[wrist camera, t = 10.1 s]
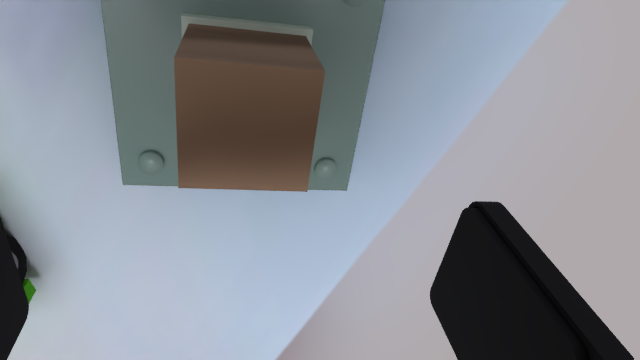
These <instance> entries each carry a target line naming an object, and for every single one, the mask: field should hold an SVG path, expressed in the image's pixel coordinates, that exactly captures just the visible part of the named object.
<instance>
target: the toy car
mask: <svg viewBox="0 0 640 360" xmlns="http://www.w3.org/2000/svg"><path fill="white" fill-rule="evenodd" d="M7 240H8V243H9V246H10V248H11V251H12V254H13V257H14V260H15V263H16V266H17V269H18V272H19V275H20V278H21V281H22V284H23V287H24V290H25V293H26V296H27V299H28V304H29V302H30V300H31V299H32V297H33V295H34V293H35V291H36V289H35V288H34V286H33V285H32V283H31V282H30V280H29V279H24V278H25V275H26V272H27V266H26V256H25V254H24V251H23V249H22V248H21V246H20V245H19V243H18V242H17V241H16V240H15V239H14V238H10V237H7Z"/></svg>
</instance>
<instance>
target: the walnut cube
mask: <svg viewBox="0 0 640 360" xmlns="http://www.w3.org/2000/svg"><path fill="white" fill-rule="evenodd" d="M174 72H175V101H176V130H177V159H178V188H203V189H237V190H271V191H305V192H307V190H308V183H309V177H310V170H311V163H312V157H313V150H314V143H315V137H316V130H317V123H318V117H319V110H320V103H321V96H322V90H323V83H324V76H325V70H324V68H323V66H322V64H321V62H320V61H319V59H318V57H317V55H316V53H315V52H314V50H313V48H312V46H311V44H310V42H309V41H308V39H307V37H306V36H302V35H292V34H283V33H274V32H265V31H255V30H246V29H237V28H228V27H219V26H209V25H200V24H191V23H189V24H188V26H187V29H186V31H185V33H184V35H183V38H182V40H181V42H180V45H179V47H178V49H177V52H176V54H175V56H174Z"/></svg>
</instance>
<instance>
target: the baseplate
mask: <svg viewBox="0 0 640 360" xmlns="http://www.w3.org/2000/svg"><path fill="white" fill-rule="evenodd" d="M384 2H385V0H101V5H102V14H103V22H104V31H105V39H106V47H107V56H108V64H109V73H110V81H111V89H112V98H113V106H114V115H115V123H116V131H117V140H118V148H119V156H120V165H121V173H122V182H123V185H152V186H178V159H177V130H176V101H175V72H174V56H175V54H176V52H177V49H178V47H179V45H180V42H181V40H182V38H183V35H184V33H185V31H186V29H187V26H188V24H189V23H191V24H200V25H209V26H219V27H228V28H237V29H246V30H255V31H265V32H274V33H283V34H292V35H302V36H306V37H307V39H308V41H309V42H310V44H311V46H312V48H313V50H314V52H315V53H316V55H317V57H318V59H319V61H320V62H321V64H322V66H323V68H324V70H325V76H324V83H323V90H322V96H321V103H320V110H319V117H318V123H317V130H316V137H315V143H314V150H313V157H312V163H311V170H310V177H309V183H308V190H343V191H347V187H348V182H349V177H350V172H351V167H352V162H353V157H354V152H355V147H356V142H357V137H358V132H359V127H360V122H361V117H362V112H363V107H364V102H365V97H366V92H367V87H368V82H369V77H370V72H371V67H372V62H373V57H374V52H375V47H376V42H377V37H378V32H379V27H380V22H381V17H382V12H383V7H384Z"/></svg>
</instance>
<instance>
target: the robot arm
mask: <svg viewBox="0 0 640 360" xmlns="http://www.w3.org/2000/svg"><path fill="white" fill-rule="evenodd" d="M430 300H431V304H432V306H433V308H434V310H435V313H436V315H437V317H438V319H439V321H440V323H441V325H442V327H443V329H444V331H445V333H446V336H447V338H448V340H449V342H450V344H451V346H452V348H453V350H454V352H455V354H456V357H457V359H458V360H634V358H633V356H632V355H631V354H630V353H629V352H628V351H627V349H626V348H625V347H624V346H623V345H622V344H621V342H620V341H619V340H618V339H617V338H616V337H615V335H614V334H613V333H612V332H611V331H610V330H609V328H608V327H607V326H606V325H605V324H604V323H603V322H602V320H601V319H600V318H599V317H598V316H597V315H596V313H595V312H594V311H593V310H592V309H591V308H590V306H589V305H588V304H587V303H586V301H585V300H584V299H583V298H582V297H581V296H580V295H579V293H578V292H577V291H576V290H575V289H574V288H573V286H572V285H571V284H570V283H569V282H568V280H567V279H566V278H565V277H564V276H563V275H562V273H561V272H560V271H559V270H558V269H557V268H556V266H555V265H554V264H553V263H552V262H551V261H550V259H549V258H548V257H547V256H546V255H545V253H543V251H542V250H541V249H540V248H539V246H538V245H537V244H536V243H535V242H534V241H533V240H532V238H531V237H530V236H529V235H528V234H527V232H526V231H525V230H524V229H523V228H522V227H521V225H520V224H519V223H518V222H517V221H516V220H515V218H514V217H513V216H512V215H511V214H510V213H509V211H508V210H507V209H506V208H505V207H504V206H503V205H502V204H501V203H499V202H477V201H476V202H472V203H471V204H470V205H469V207H468V208H465V209H464V210H463V211H462V213H461V215H460V218H459V220H458V223H457V226H456V228H455V230H454V233H453V235H452V238H451V240H450V243H449V245H448V248H447V250H446V252H445V255H444V258H443V260H442V263H441V265H440V267H439V270H438V272H437V275H436V277H435V280H434V282H433V285H432V287H431V291H430ZM28 309H29V304H28V299H27V296H26V293H25V290H24V287H23V284H22V281H21V278H20V275H19V272H18V269H17V266H16V263H15V260H14V257H13V254H12V251H11V248H10V246H9V243H8V240H7V237H6V234H5V231H4V228H3V225H2V222H1V219H0V360H7V358H8V356H9V354H10V352H11V350H12V348H13V346H14V344H15V342H16V340H17V338H18V336H19V334H20V332H21V330H22V327H23V325H24V323H25V321H26V319H27V315H28Z"/></svg>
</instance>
